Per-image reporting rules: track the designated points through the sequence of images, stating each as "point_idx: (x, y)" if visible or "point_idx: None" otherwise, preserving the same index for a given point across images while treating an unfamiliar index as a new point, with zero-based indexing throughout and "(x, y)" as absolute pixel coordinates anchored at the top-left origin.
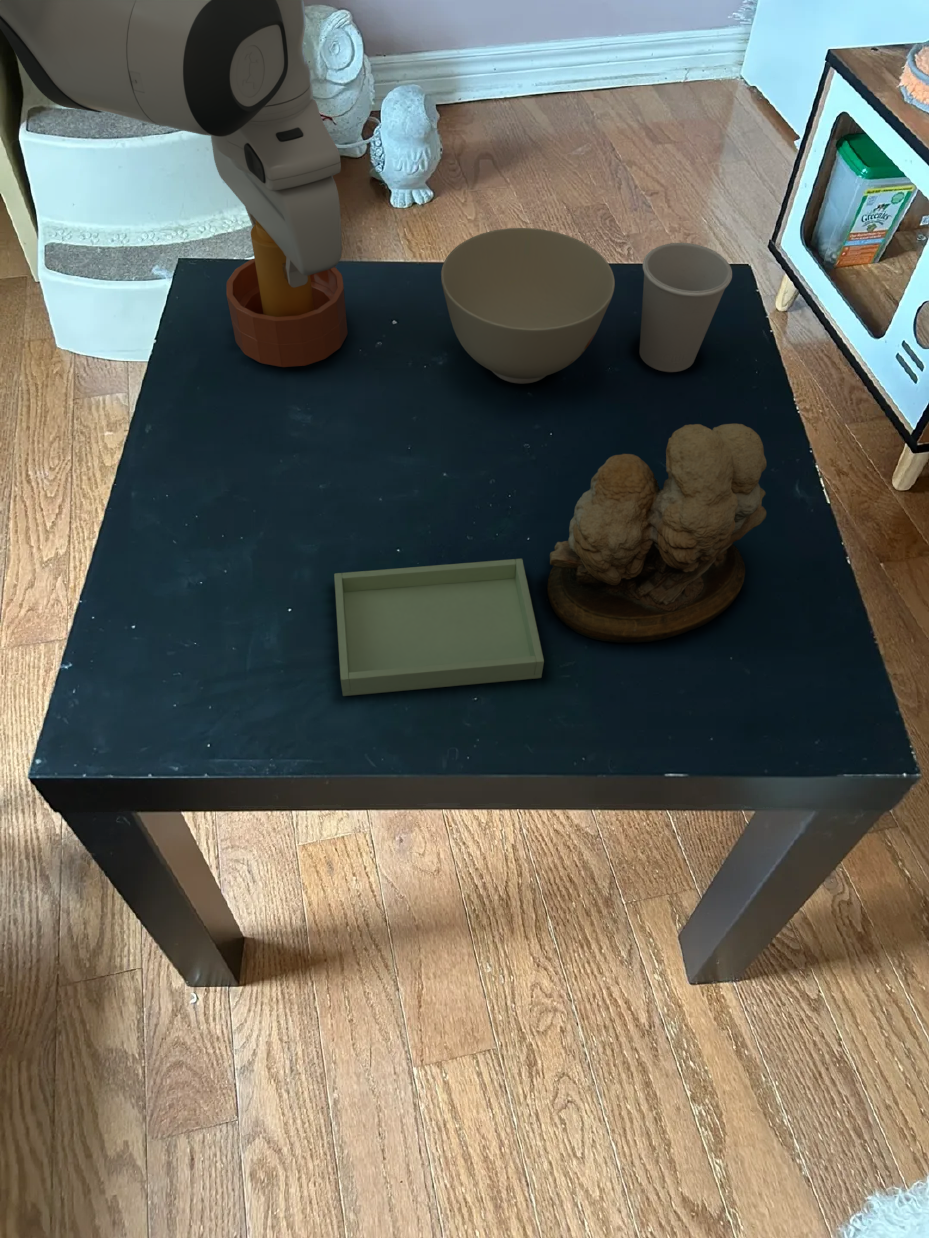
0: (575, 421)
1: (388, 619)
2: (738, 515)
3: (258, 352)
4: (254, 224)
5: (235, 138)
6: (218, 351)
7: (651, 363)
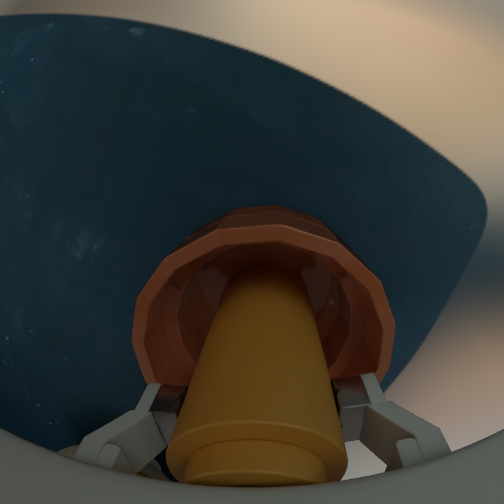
0: (64, 441)
1: None
2: None
3: (193, 232)
4: (385, 419)
5: None
6: (279, 168)
7: None
